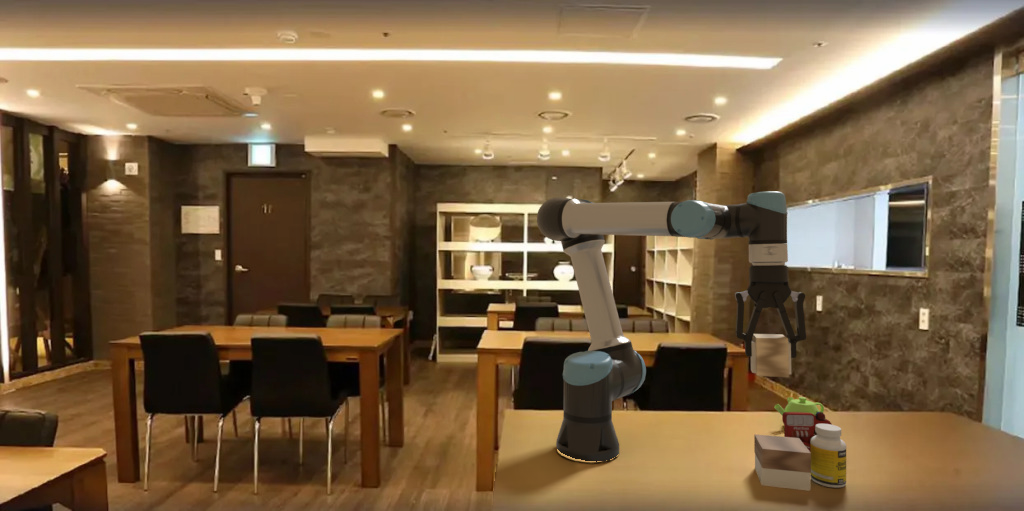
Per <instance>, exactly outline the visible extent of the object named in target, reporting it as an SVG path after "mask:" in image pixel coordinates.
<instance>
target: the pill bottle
mask: <svg viewBox="0 0 1024 511" xmlns="http://www.w3.org/2000/svg"><path fill="white" fill-rule="evenodd" d="M831 424H832V423H831ZM831 424H816V426H815V432H816V433H817V435H815V436H813V437H812V438H811V452H810V453H811V473H810V480H812V481H813V482H814V483H816V484H817V485H820V486H823V487H828V488H835V489H839V488H843V487H845V486H846V485H847V444H846V442H845V441H844V440H843V439H841V436H842V428H841V427H840V426H837V425H836V424H835V425H834V424H832V425H831Z"/></svg>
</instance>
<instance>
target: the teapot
mask: <svg viewBox="0 0 1024 511" xmlns="http://www.w3.org/2000/svg"><path fill="white" fill-rule="evenodd" d="M818 406H819V407H820V409H819V408H818ZM824 406H825V405H823V404H822V403H821V402H813V401H811V400H807V397H804V396H798V398H795V399H794V397H790V396H789V397H788V398H787V404H786V406H785V408H783V407H782V405H780V404H779V403H777V404H775V405H774V409H775V410H776V411H777V412H778V414H780V415H781V416H782V415H783V413H784V412H808V413H812V414H814V415H816V413H817V412H822V413H824V411H825V407H824ZM825 419H827V418H826V417H825Z"/></svg>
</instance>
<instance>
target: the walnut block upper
mask: <svg viewBox="0 0 1024 511" xmlns="http://www.w3.org/2000/svg"><path fill="white" fill-rule="evenodd" d="M753 437H754V441H753V442H754V445H753V446H754V449H753V450H754V455H755V454H756V456H757V458H758V460H759V462H760V464H761V466H762V468H767V469H777V470H787V471H797V472H807V473H811V453H810V451H809V450H808V449H807V448H806V446H805V445H804V444H803V442H802V441H801V440H800V439H799V438H792V437H784V436H780V435H779V436H778V435H767V434H756V433H755V434H754V436H753Z"/></svg>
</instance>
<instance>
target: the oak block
mask: <svg viewBox="0 0 1024 511" xmlns="http://www.w3.org/2000/svg"><path fill="white" fill-rule="evenodd" d="M752 340H753V341H755V347H756V373H755V375H756V376H757V377H771V378H775V377H776V378H790V374H789V357H788V342H789V340H788V337H787V336H786V335H784V334H779V333H778V334H776V333H754V334H753V338H752Z"/></svg>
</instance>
